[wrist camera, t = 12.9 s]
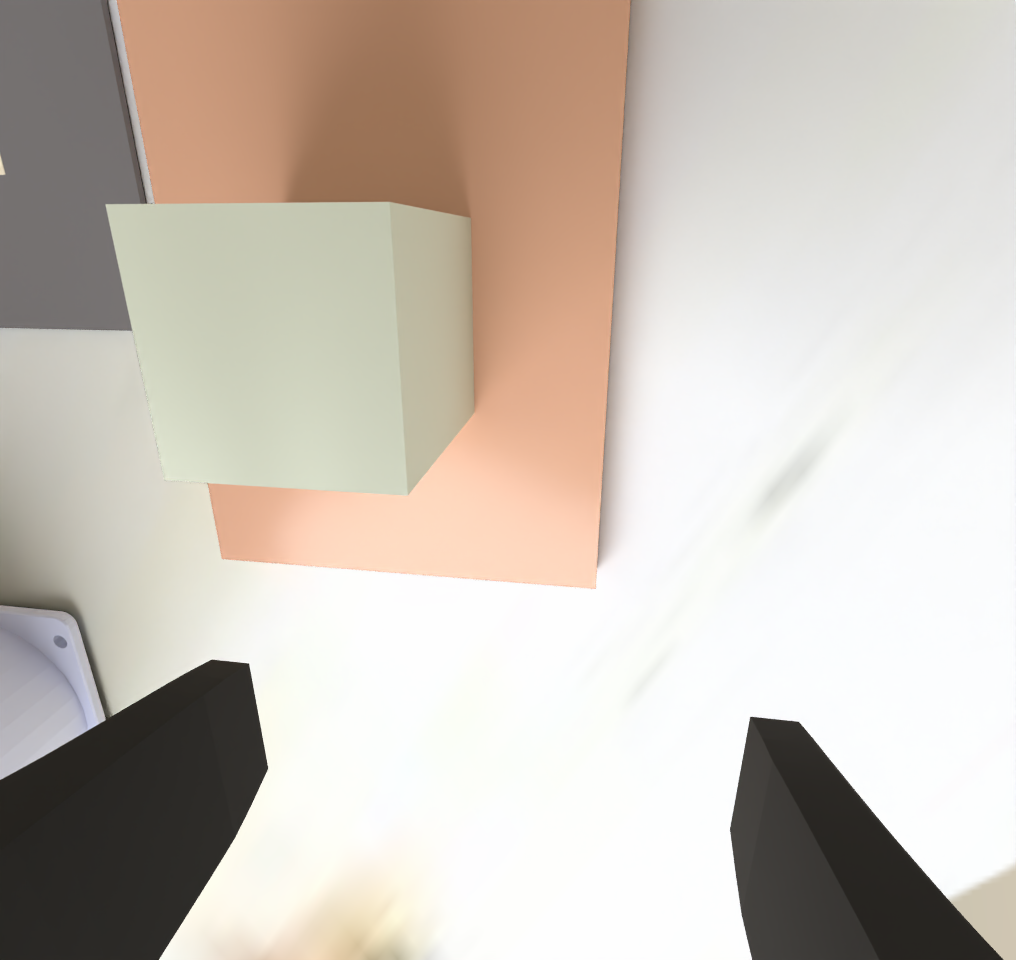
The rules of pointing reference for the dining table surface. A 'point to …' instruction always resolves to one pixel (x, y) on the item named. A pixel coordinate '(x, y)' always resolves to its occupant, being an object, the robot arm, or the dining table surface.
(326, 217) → the sage block
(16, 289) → the mat
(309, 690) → the dining table surface
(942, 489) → the dining table surface
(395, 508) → the plate
